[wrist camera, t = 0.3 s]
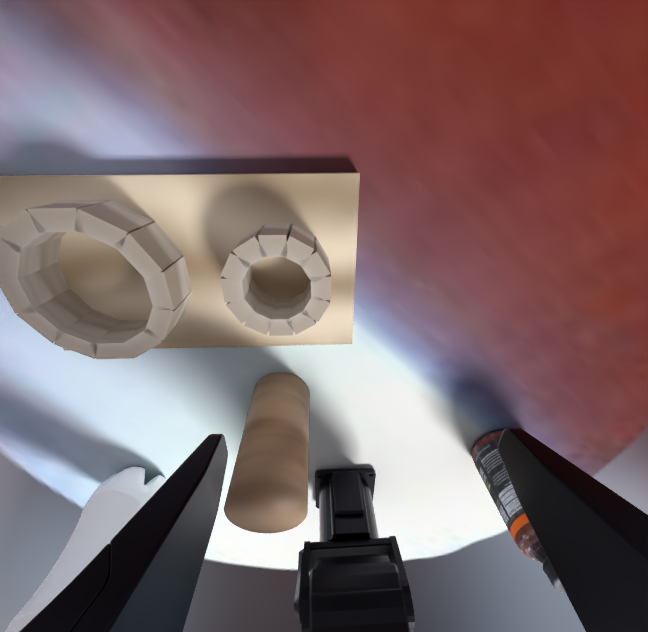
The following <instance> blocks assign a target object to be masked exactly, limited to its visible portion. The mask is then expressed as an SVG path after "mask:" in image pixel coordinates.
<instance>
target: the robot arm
mask: <svg viewBox="0 0 648 632" xmlns="http://www.w3.org/2000/svg"><path fill="white" fill-rule="evenodd" d="M498 450H499V454H500V456H501V459H502V461H503V464H504V466H505V469H506V471H507V474H508V476H509V478H510V481H511V483H512V486H513V488H514V491H515V493H516V496H517V498H518V500H519V502H520V504H521V506H522V508H523V510H524V512H525V514H526V516H527V518H528V520H529V522H530V524H531V526H532V528H533V530H534V532H535V534H536V536H537V538H538V540H539V541H540V543H541V545H542V547H543V549H544V551H545V553H546V555H547V557H548V559H549V561H550V563H551V565H552V567H553V569H554V571H555V572H556V574H557V576H558V578H559V580H560V582H561V584H562V586H563V588H564V590H565V592H566V594H567V596H568V598H569V600H570V601H571V603H572V605H573V607H574V609H575V611H576V613H577V615H578V617H579V619H580V621H581V622H582V625H583V627H584V629H585V631H586V632H648V515H647V514H645V513H644V512H642V511H641V510H639V509H638V508H637V507H635V506H634V505H632V504H631V503H629V502H628V501H626V500H625V499H623V498H622V497H621V496H619V495H618V494H616V493H615V492H613V491H612V490H610V489H609V488H607V487H606V486H604V485H603V484H601V483H600V482H598V481H597V480H595V479H594V478H593V477H591V476H590V475H588V474H587V473H585V472H584V471H582V470H581V469H580V468H578V467H577V466H575V465H574V464H572V463H571V462H569V461H568V460H566V459H565V458H563V457H562V456H560V455H559V454H558V453H556V452H555V451H553V450H552V449H550V448H549V447H547V446H546V445H544V444H543V443H541V442H540V441H539V440H537V439H536V438H534V437H533V436H531V435H530V434H528V433H527V432H525V431H524V430H522V429H521V428H517V427H513V428H506V429H504V431H503V434H502V436H501V439H500V441H499V444H498ZM227 457H228V451H227V446H226V442H225V437H224V435H223V434H211V435H209V436H208V437H207V438H206V439H205V440H204V441H203V442H202V443H201V444H200V445H199V446H198V447H197V449H196V450H195V451H194V452H193V453H192V454H191V455H190V456H189V457H188V458H187V459H186V460H185V461H184V462H183V464H182V465H181V466H180V467H179V468H178V469H177V470H176V471H175V472H174V473H173V474H172V475H171V476H170V477H169V479H168V480H167V481H166V482H165V483H164V484H163V485H162V486H161V487H160V488H159V489H158V490H157V491H156V492H155V494H154V495H153V496H152V497H151V498H150V499H149V500H148V501H147V502H146V503H145V504H144V505H143V506H142V507H141V509H140V510H139V511H138V512H137V513H136V514H135V515H134V516H133V517H132V518H131V519H130V520H129V521H128V522H127V524H126V525H125V526H124V527H123V528H122V529H121V530H120V531H119V532H118V533H117V534H116V535H115V536H114V538H113V539H112V540H111V541H110V544H107V545H106V546H105V547H104V548H103V549H102V550H101V551H100V552H99V553H98V554H97V556H96V557H95V558H94V559H93V560H92V561H91V562H90V563H89V564H88V565H87V566H86V567H85V568H84V569H83V570H82V571H81V572H80V573H79V574H78V575H77V576H76V577H75V578H74V579H73V581H72V582H71V583H69V584H68V585H67V586H66V587H65V588H64V589H63V590H62V591H61V592H60V593H59V594H58V595H57V596H56V597H55V598H54V599H53V600H52V601H51V602H50V603H49V604H48V605H47V606H46V607H45V608H44V609H43V610H42V611H41V612H40V613H38V614H37V615H36V616H35V617H34V618H33V619H32V620H31V621H30V622H29V623H28V624H27V625H26V626H25V627H24V628H23V629H22V630H20V631H19V632H183V628H184V625H185V621H186V618H187V614H188V611H189V608H190V604H191V601H192V598H193V594H194V591H195V587H196V584H197V580H198V577H199V573H200V570H201V567H202V563H203V560H204V556H205V553H206V550H207V546H208V543H209V539H210V536H211V532H212V529H213V526H214V522H215V519H216V515H217V511H218V506H219V502H220V496H221V491H222V485H223V480H224V474H225V469H226V464H227ZM375 476H376V474H375V470H374V469H346V470H319V471H316V472H315V490H316V507H317V508H319V514H320V542H310V541H306V542H304V549H303V550H301V551H300V552H299V564H298V578H297V585H296V593H295V600H294V611H295V613H296V614H297V616H298V617H299V618H300V625H301V626H302V632H410V631H414V630H415V619H414V610H413V603H412V598H411V593H410V588H409V584H408V580H407V576H406V573H405V569H404V566H403V562H402V558H401V555H400V551H399V548H398V544H397V540H396V537H395V536H390V537H389V538H378V532H377V526H376V520H375V514H374V508H373V502H372V501H373V493H374V484H375Z"/></svg>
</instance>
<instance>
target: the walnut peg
mask: <svg viewBox="0 0 648 632" xmlns="http://www.w3.org/2000/svg"><path fill="white" fill-rule="evenodd" d="M309 397H310V393H309V389H308V386H307V385H306V383H305V382H304V381H303V380H302V379H300V378H299V377H297V376H295V375H292V374H289V373H272V374H269V375H267V376H265V377H263V378H261V379H260V380H259V381H258V382H257V384H256V386H255V388H254V392H253V396H252V400H251V404H250V408H249V412H248V415H247V419H246V423H245V427H244V431H243V435H242V439H241V443H240V447H239V451H238V455H237V459H236V463H235V467H234V471H233V474H232V478H231V482H230V486H229V490H228V494H227V498H226V502H225V506H224V512H225V515H226V517H227V518H228V519H229V520H230V522H232V523H233V524H234V525H236V526H238V527H240V528H242V529H245V530H248V531H252V532H258V533H277V532H283V531H286V530H289V529H292V528H294V527H296V526H298V525H299V524H300V523H302V522H303V520H304V519H305V518H306V515H307V505H308V451H309Z"/></svg>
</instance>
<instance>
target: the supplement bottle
mask: <svg viewBox="0 0 648 632" xmlns="http://www.w3.org/2000/svg"><path fill="white" fill-rule="evenodd" d="M503 431H504V430H499V431H495V432H492V433H489V434H488V435H486V436H484V437H482V438H481V439H480V440H479V441H478V442H476V444H475V446H474V448H473V450H472V458H473V461H474V463H475V466H476V468H477V469H478V471H479V474H480V475H481V477H482V479H483V481H484V483H485V485H486V487H487V489H488V491H489V493H490V495H491V497H492V499H493V501H494V503H495V504H496V506H497V508H498V510H499V512H500V514H501V516H502V518H503V520H504V522H505V524H506V526H507V528H508V530H509V531H510V533H511V535H512V537H513V539H514V541H515V543H516V544H517V546H518V547H519V549H520V550H521V551H522V552H523V553H524V554H525V555H526V556H528V557H530V558H532V559H534V560H537V561H540V562H542V563H543V570H544V572H545V573H546V574H547V576H548V578H549V579H550V581H551V583H552V585H553V586H554V588H555V589H556V590H558V591H560V592H565V590H564V588H563V586H562V584H561V582H560V580H559V578H558V576H557V574H556V572H555V571H554V569H553V567H552V565H551V563H550V561H549V559H548V557H547V555H546V553H545V551H544V549H543V547H542V545H541V543H540V541H539V540H538V538H537V536H536V534H535V532H534V530H533V528H532V526H531V524H530V522H529V520H528V518H527V516H526V514H525V512H524V510H523V508H522V506H521V504H520V502H519V500H518V498H517V496H516V493H515V491H514V488H513V486H512V483H511V481H510V478H509V476H508V474H507V471H506V469H505V466H504V464H503V461H502V459H501V456H500V454H499V450H498V444H499V441H500V439H501V436H502V434H503ZM565 593H566V592H565Z"/></svg>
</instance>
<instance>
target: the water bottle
mask: <svg viewBox="0 0 648 632" xmlns="http://www.w3.org/2000/svg"><path fill="white" fill-rule="evenodd" d="M144 479H145V469H143V468H141V467H130V468H127V469H124V470H123V471H121V472H120V473H118V474H114V475H112V476H111V477H110V478H108V479H107V480H105V481H104V482H103V483H102V484H101V485H100V486H99V487H98V488H97V489H96V490H95V491H94V493H93V494H92V496H91V497H90V498H89V500H88V501H87V503H86V505H85V507H84V509H83V512H82V515H81V517H80V519H79V522H78V524H77V526H76V528H75V530H74V532H73V534H72V536H71V538H70V540H69V542H68V544H67V545H66V547H65V549H64V551H63V552H62V554H61V556H60V557H59V559H58V561H57V562H56V563H55V565H54V567H53V568H52V569H51V571H50V572H49V574H48V575H47V577H46V578H45V580H44V581H43V582H42V584H41V585H40V587H39V588H38V589H37V591H36V592H35V593H34V595H33V596H32V597H31V598H30V600H29V601H28V602H27V603H26V604H25V606H24V607H23V608H22V609H21V610H20V612H19V613H18V614H17V615H16V616H15V617H14V618H13V619H12V621H11V622H10V624H9V626H8V628H7V630H6V631H5V632H19V631H20V630H22V629H23V628H24V627H25V626H26V625H27V624H28V623H29V622H30V621H31V620H32V619H33V618H34V617H35V616H36V615H37V614H38V613H40V612H41V611H42V610H43V609H44V608H45V607H46V606H47V605H48V604H49V603H50V602H51V601H52V600H53V599H54V598H55V597H56V596H57V595H58V594H59V593H60V592H61V591H62V590H63V589H64V588H65V587H66V586H67V585H68V584H69V583H71V582H72V581H73V579H74V578H75V577H76V576H77V575H78V574H79V573H80V572H81V571H82V570H83V569H84V568H85V567H86V566H87V565H88V564H89V563H90V562H91V561H92V560H93V559H94V558H95V557H96V556H97V554H98V553H99V552H100V551H101V550H102V549H103V548H104V547H105V546H106V545H107V544H110V541H111V540H112V539H113V538H114V536H115V535H116V534H117V533H118V532H119V531H120V530H121V529H122V528H123V527H124V526H125V525H126V524H127V522H128V521H129V520H130V519H131V518H132V517H133V516H134V515H135V514H136V513H137V512H138V511H139V510H140V509H141V507H142V506H143V505H144V504H145V503H146V502H147V501H148V500H149V499H150V498H151V497H152V496H153V495H154V494H155V492H156V491H157V490H158V489H159V488H160V487H161V486H162V485H163V484H164V483H165V482H166V479H165V478H164V477H163V476H161V475H158V476H156V477H154V478H153V479H152V480H151V481H149V482H148V483H147V484H146V485H144Z"/></svg>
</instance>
